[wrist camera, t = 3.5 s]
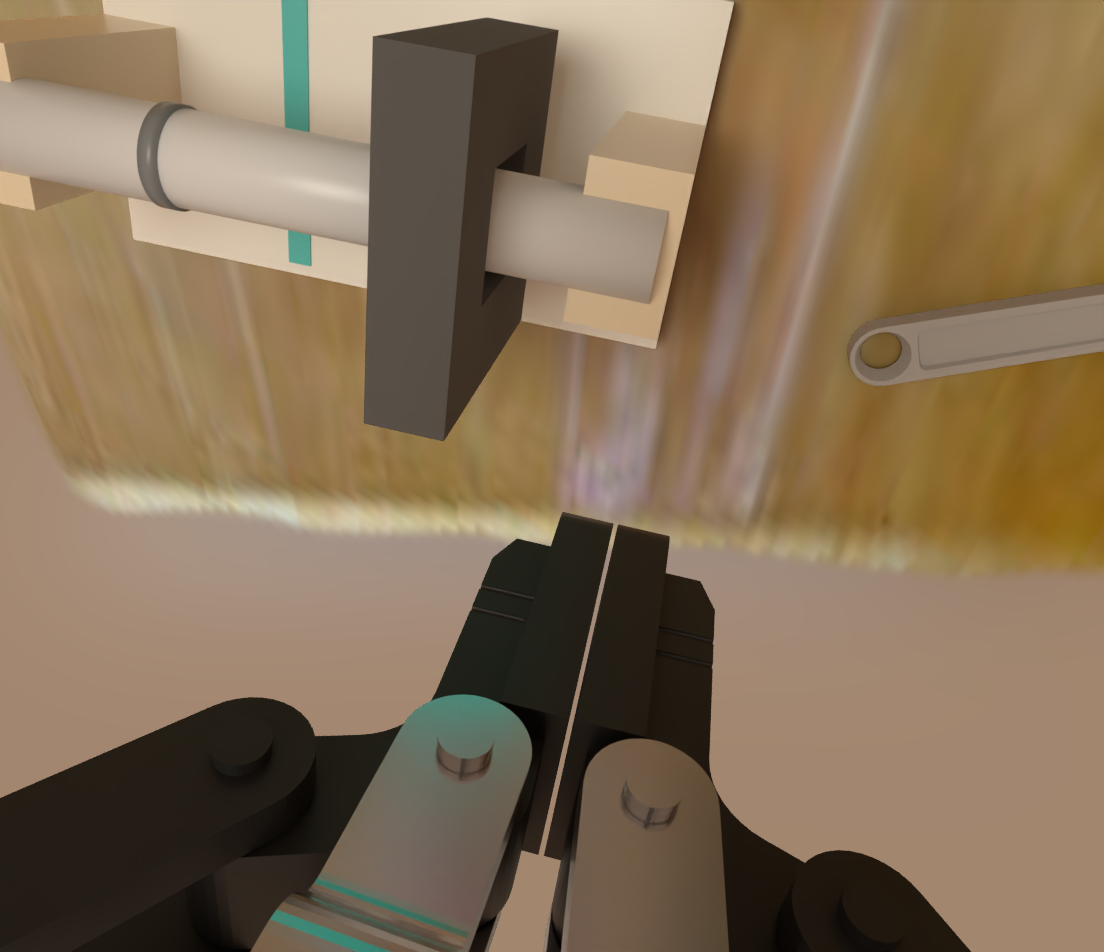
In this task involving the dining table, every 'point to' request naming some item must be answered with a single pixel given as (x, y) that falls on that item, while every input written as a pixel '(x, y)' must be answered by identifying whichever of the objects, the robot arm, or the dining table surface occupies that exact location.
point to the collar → (445, 210)
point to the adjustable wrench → (986, 335)
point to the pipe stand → (366, 137)
